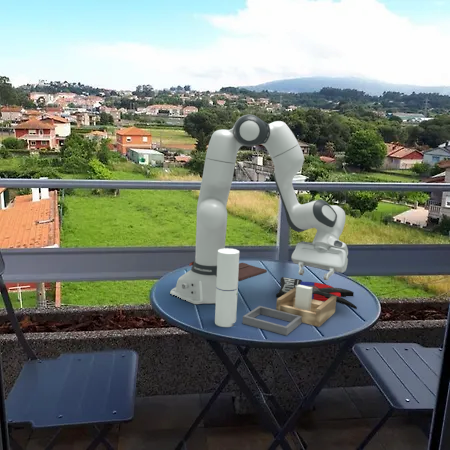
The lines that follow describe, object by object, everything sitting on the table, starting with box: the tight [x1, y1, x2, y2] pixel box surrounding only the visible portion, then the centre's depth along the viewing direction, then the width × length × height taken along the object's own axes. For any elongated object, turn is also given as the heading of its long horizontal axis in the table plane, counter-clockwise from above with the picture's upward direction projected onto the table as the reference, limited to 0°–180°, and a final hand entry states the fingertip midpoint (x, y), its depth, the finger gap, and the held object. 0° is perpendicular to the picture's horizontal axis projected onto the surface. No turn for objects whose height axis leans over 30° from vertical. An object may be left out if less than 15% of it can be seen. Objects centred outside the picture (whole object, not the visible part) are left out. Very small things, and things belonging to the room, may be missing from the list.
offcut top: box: [294, 298, 325, 309], centre depth 172 cm, size 10×4×2 cm, turn 55°
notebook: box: [238, 262, 268, 282], centre depth 220 cm, size 15×20×2 cm
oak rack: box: [275, 287, 337, 328], centre depth 171 cm, size 16×16×7 cm
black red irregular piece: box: [275, 276, 358, 310], centre depth 193 cm, size 26×4×30 cm
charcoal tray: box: [242, 305, 302, 336], centre depth 161 cm, size 16×12×4 cm
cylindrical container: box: [214, 247, 240, 328], centre depth 160 cm, size 7×7×25 cm
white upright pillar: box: [295, 285, 313, 311], centre depth 167 cm, size 5×2×11 cm, turn 59°
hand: (312, 276), depth 172 cm, fingers open, 8 cm apart
